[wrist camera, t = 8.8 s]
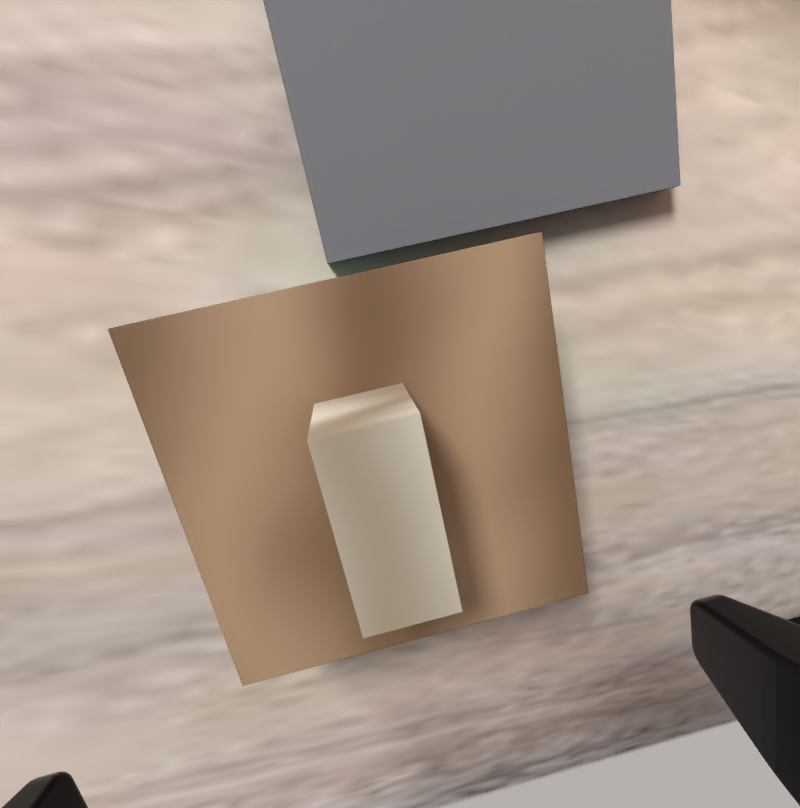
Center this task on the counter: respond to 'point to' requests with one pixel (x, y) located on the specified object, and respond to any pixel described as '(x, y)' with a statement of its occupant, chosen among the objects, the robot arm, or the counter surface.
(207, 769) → the counter surface
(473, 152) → the mat
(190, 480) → the lid
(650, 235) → the counter surface
